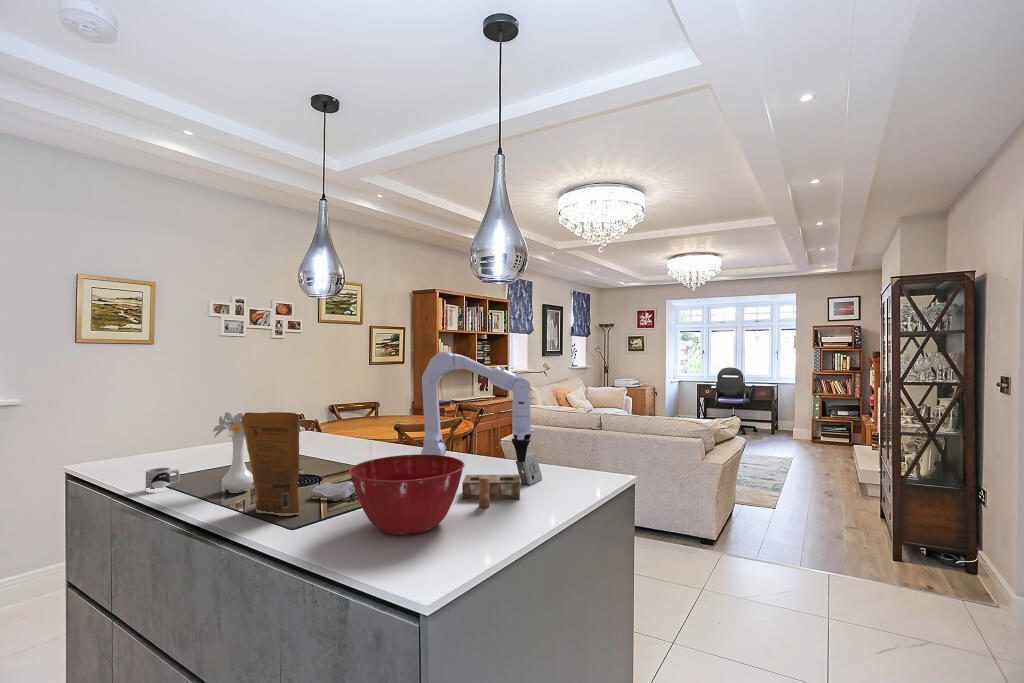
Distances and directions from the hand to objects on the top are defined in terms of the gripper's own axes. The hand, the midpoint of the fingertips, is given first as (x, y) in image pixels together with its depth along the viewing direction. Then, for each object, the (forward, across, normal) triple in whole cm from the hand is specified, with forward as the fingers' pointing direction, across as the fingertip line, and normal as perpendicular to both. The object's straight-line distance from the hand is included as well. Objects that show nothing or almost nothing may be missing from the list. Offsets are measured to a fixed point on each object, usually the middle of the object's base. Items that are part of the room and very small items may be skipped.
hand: (521, 459), depth 166 cm
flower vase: (+10, -2, +90) cm, 90 cm away
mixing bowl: (+10, -34, +27) cm, 45 cm away
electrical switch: (+10, +12, -2) cm, 16 cm away
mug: (+10, 0, +117) cm, 117 cm away
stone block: (+11, -8, +57) cm, 59 cm away
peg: (+10, -16, +10) cm, 21 cm away
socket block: (+10, -4, +9) cm, 14 cm away
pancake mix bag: (+10, -24, +67) cm, 72 cm away
